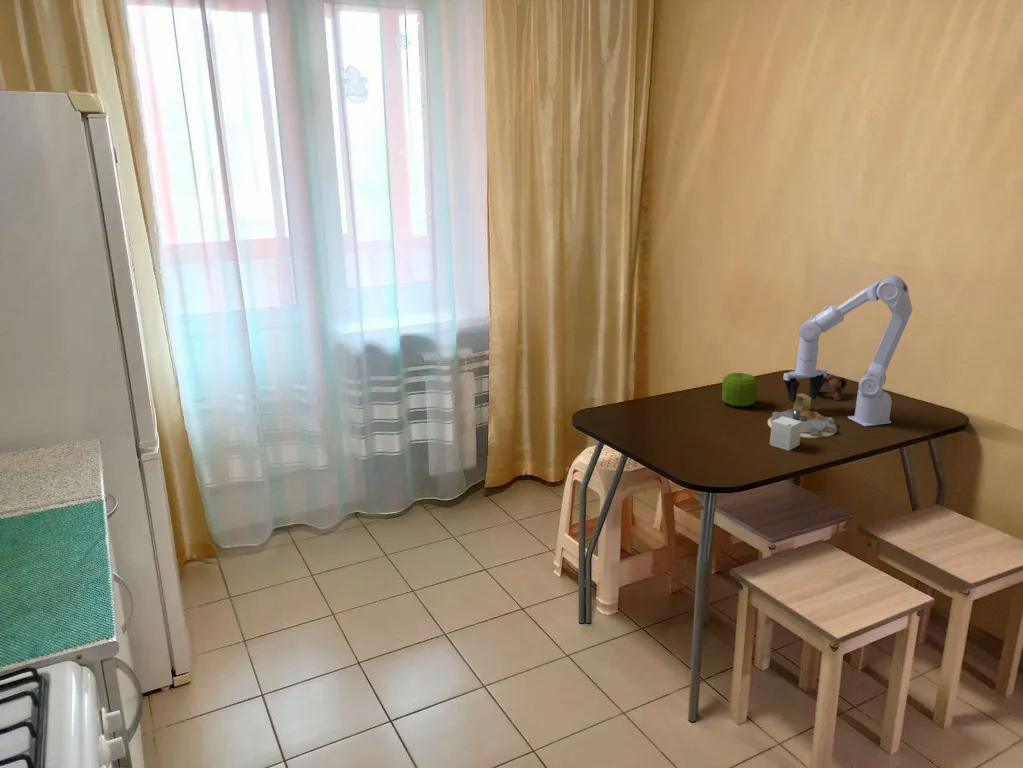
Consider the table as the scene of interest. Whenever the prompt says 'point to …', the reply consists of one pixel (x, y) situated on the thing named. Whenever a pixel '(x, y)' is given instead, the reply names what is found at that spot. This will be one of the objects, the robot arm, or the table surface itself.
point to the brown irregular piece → (836, 385)
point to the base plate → (807, 435)
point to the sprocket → (808, 420)
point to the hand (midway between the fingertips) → (802, 399)
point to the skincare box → (785, 433)
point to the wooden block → (802, 402)
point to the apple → (739, 389)
